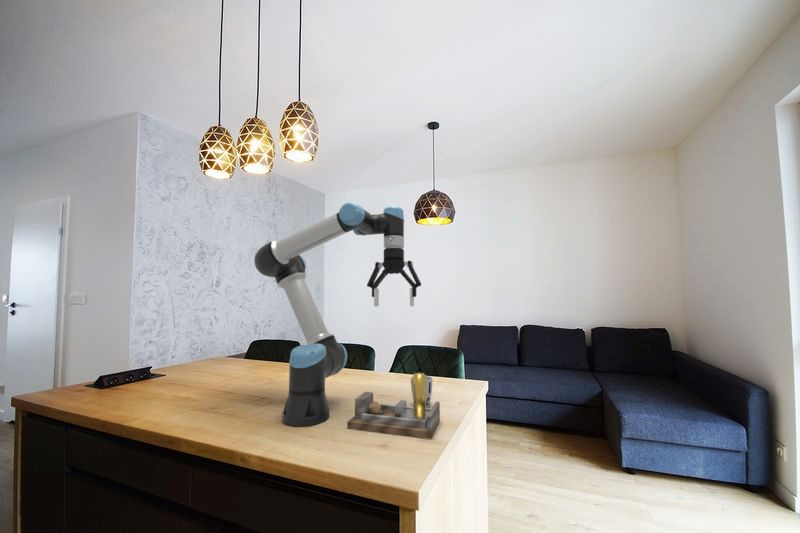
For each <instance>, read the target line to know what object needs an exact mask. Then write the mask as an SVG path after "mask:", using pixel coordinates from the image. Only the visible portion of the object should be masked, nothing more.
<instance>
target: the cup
mask: <svg viewBox="0 0 800 533" xmlns="http://www.w3.org/2000/svg"><path fill="white" fill-rule="evenodd" d="M410 388H411V395H412V401H413V402H414V375H412V376H411V377H410ZM432 391H433V377H432V376H428V375H425V408H426V409H428V408H429V406H430V403H431V400H432Z"/></svg>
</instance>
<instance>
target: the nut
mask: <svg viewBox="0 0 800 533" xmlns="http://www.w3.org/2000/svg"><path fill="white" fill-rule="evenodd" d="M380 404H381V403H380V402H378V401H374V400H373V402H372V403H370V405H369V412H370V413H371V414H373V415H377V414H378V413H379V412H380V411H381V405H380Z"/></svg>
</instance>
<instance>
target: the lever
mask: <svg viewBox="0 0 800 533" xmlns="http://www.w3.org/2000/svg"><path fill="white" fill-rule="evenodd" d="M413 376H414V401H413V407H414V410H413V409H407V407H408V406H407V404H408V403H407V400H403V399H400V400H399V401H398V402H397V403H396V404H395V417H400V418H409V419H418V420H426V426H427V415H428V414H429V412H430V411H425V376H426V373H423V372H415V373H413Z"/></svg>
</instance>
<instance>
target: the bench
mask: <svg viewBox="0 0 800 533" xmlns="http://www.w3.org/2000/svg"><path fill="white" fill-rule="evenodd" d="M372 402H374V392H372V391H371V392H370V391H364V392H362V393H361V394H360V395H358V396H356V397H355V398H354V416H353V417H352V418H350V419H349V420H347V425H346V426H347V427H346V429H348V430H356V431H365V432H371V433H380V434H386V435H394V436H403V437H411V438H416V439H425V440H432V438H433V436H434V435H435V432H436V431H437V429H438V426H439V424H440V422H441V416H440V415H441V414H440V413H441V411H440V406H441V403H440V401H435V402H434V404H433V406H432V407H431V408H425V411H430V412H429V414H428V415H427V426H426V420H418V419H409V418H400V417H395V405H396V404H395V405H393V404H384V403H379V404H380V405H381V411H380V412H379V413H378V414H377V415H373V414H371V413H370V412H369V405H370V403H372ZM407 409H413V410H414V406H407Z"/></svg>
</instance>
